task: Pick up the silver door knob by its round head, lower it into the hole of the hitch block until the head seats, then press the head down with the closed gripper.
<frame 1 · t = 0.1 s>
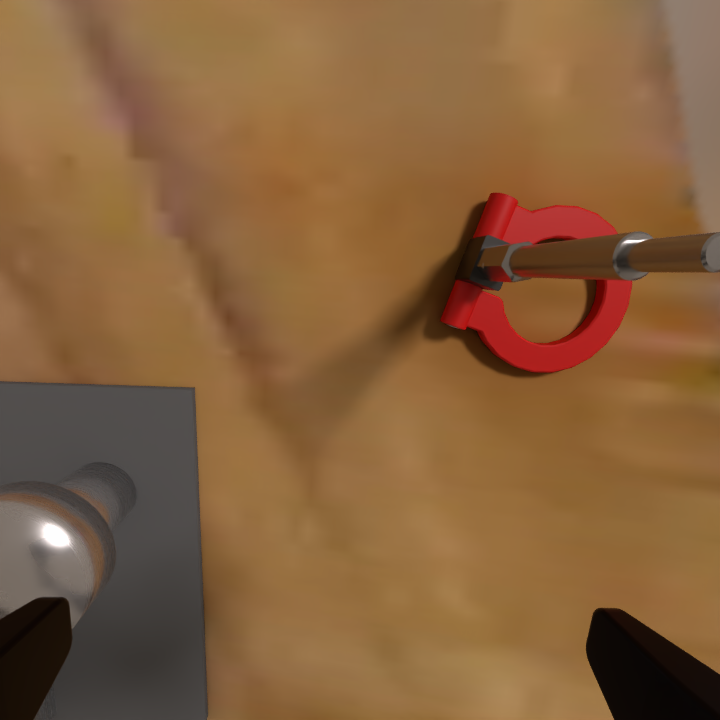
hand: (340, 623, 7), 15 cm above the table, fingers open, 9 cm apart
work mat: (6, 566, 22), on the table
tow hook: (535, 289, 21), on the table
silver door knob: (102, 492, 21), resting on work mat
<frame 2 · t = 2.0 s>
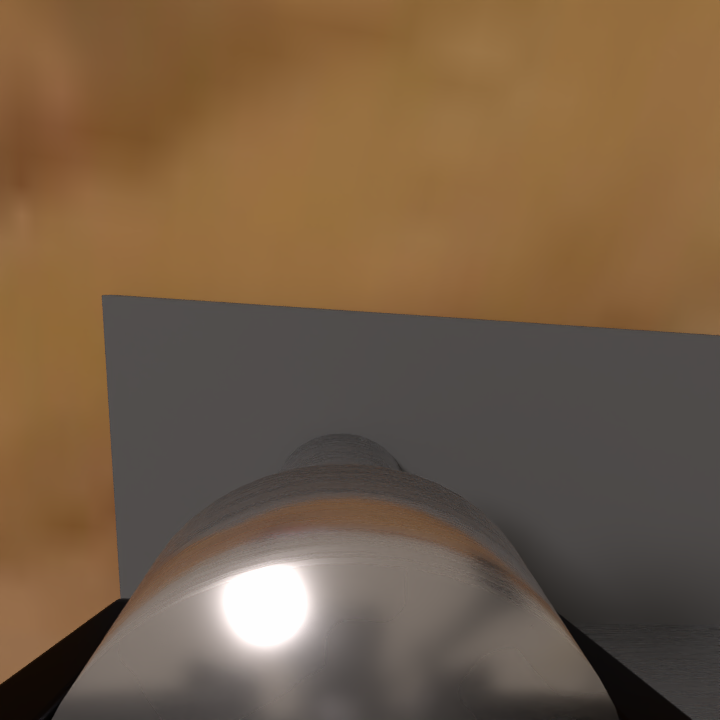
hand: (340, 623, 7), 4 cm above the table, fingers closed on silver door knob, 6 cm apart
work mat: (484, 663, 12), on the table
silver door knob: (340, 495, 11), resting on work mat, touching gripper
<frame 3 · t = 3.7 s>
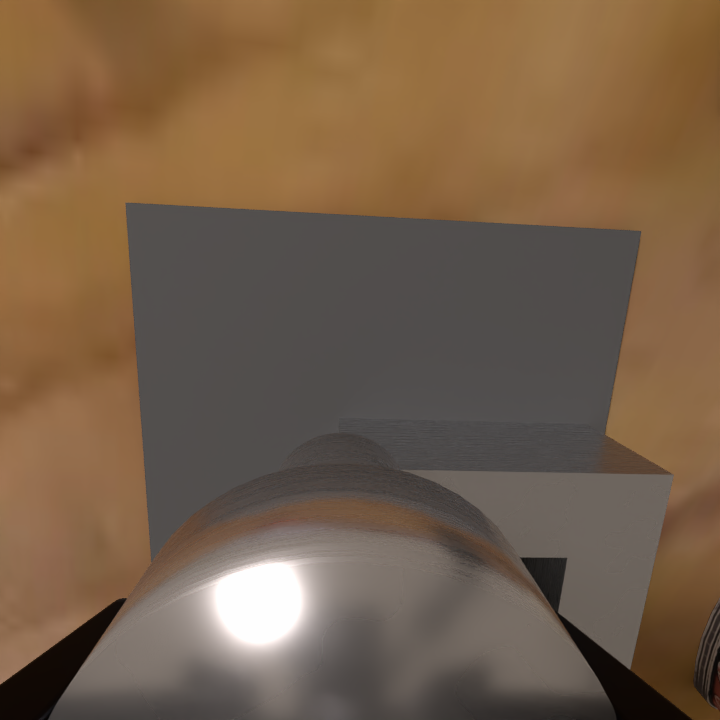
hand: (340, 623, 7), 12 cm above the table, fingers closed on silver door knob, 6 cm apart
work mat: (378, 454, 19), on the table
hitch block: (453, 533, 19), resting on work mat
silver door knob: (339, 494, 11), point 8 cm above the table, touching gripper
when the fingers open (6 cm above the table, at t = 5.7 s): silver door knob drops 1 cm, resting on hitch block.
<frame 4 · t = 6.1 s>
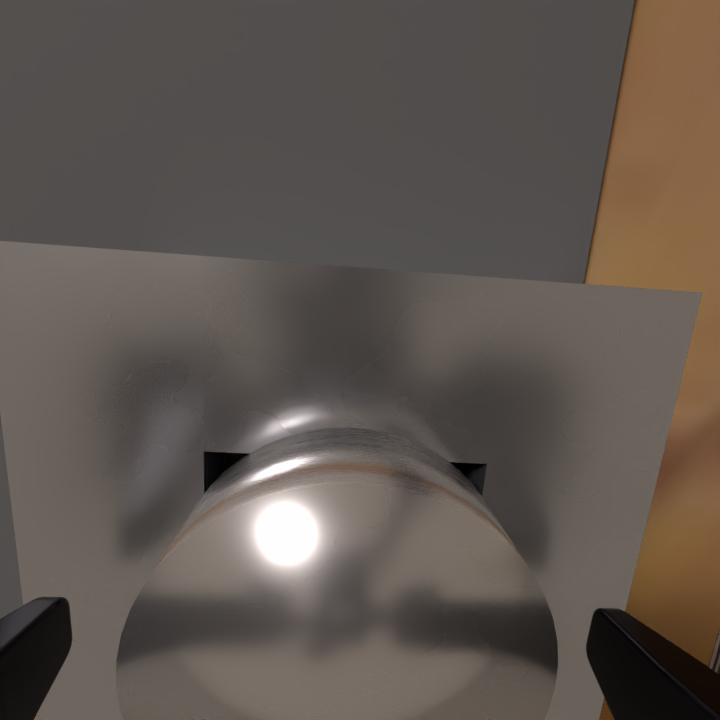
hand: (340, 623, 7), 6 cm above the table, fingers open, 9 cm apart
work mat: (218, 330, 12), on the table
hitch block: (340, 462, 12), resting on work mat
silver door knob: (342, 470, 12), point 1 cm above the table, touching hitch block
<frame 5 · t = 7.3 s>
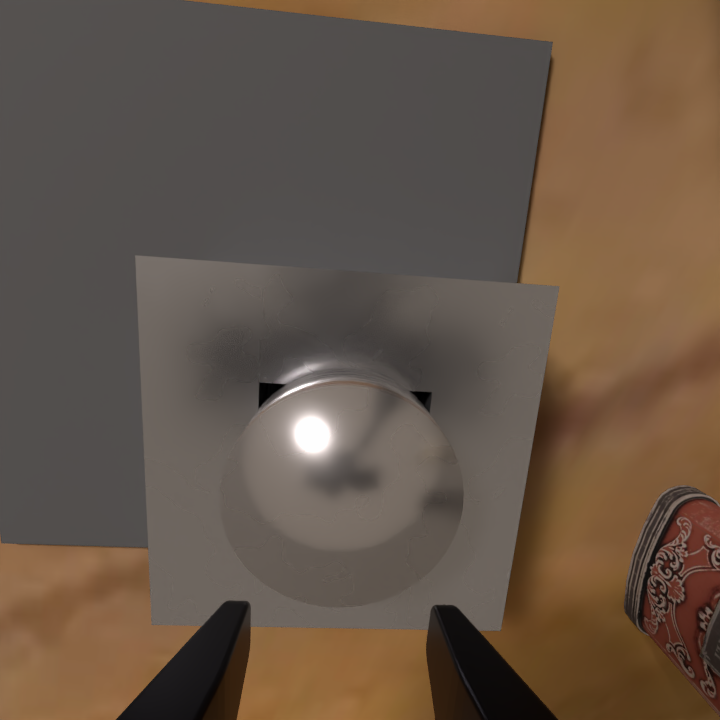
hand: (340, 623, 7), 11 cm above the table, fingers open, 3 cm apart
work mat: (252, 315, 16), on the table
hitch block: (341, 413, 17), resting on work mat
lighter: (660, 553, 20), on the table
silver door knob: (342, 417, 16), point 1 cm above the table, touching hitch block
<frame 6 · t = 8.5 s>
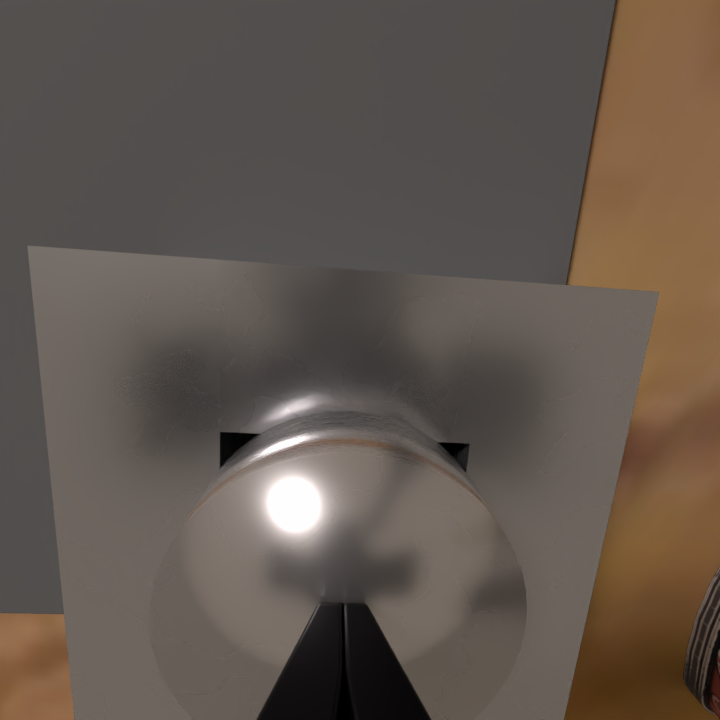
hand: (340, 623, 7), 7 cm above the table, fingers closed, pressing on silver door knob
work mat: (227, 327, 13), on the table
hitch block: (340, 450, 13), resting on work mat
silver door knob: (342, 456, 13), point 1 cm above the table, touching gripper, hitch block
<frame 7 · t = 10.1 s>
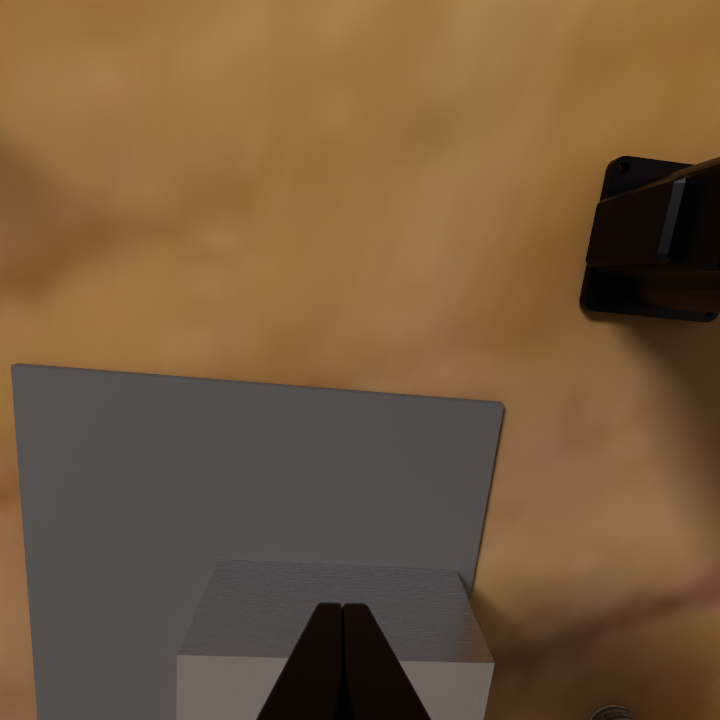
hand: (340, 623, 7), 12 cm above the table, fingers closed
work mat: (259, 589, 20), on the table
hitch block: (329, 662, 21), resting on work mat
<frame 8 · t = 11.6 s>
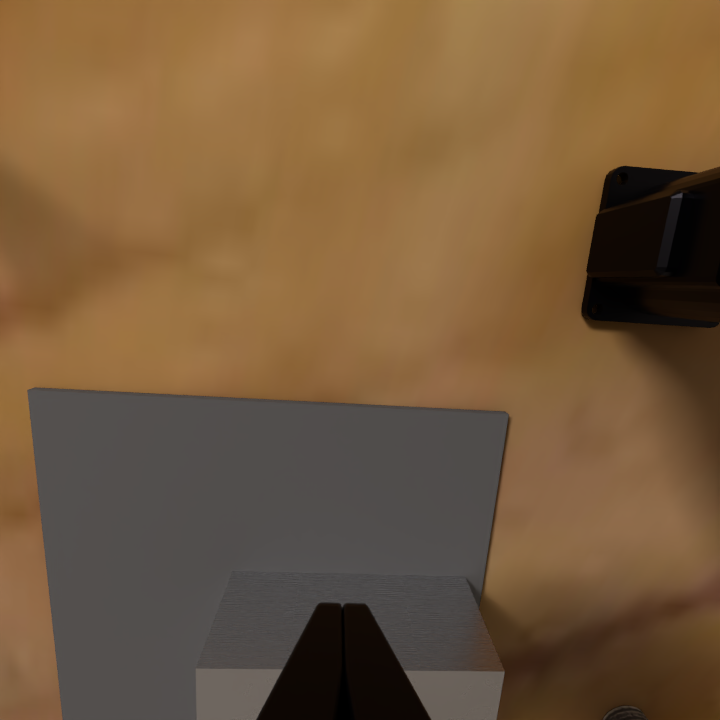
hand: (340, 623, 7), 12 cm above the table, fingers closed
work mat: (272, 599, 20), on the table
hitch block: (343, 669, 21), resting on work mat
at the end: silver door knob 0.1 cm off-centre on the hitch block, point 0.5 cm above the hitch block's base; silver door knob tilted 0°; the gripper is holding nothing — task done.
